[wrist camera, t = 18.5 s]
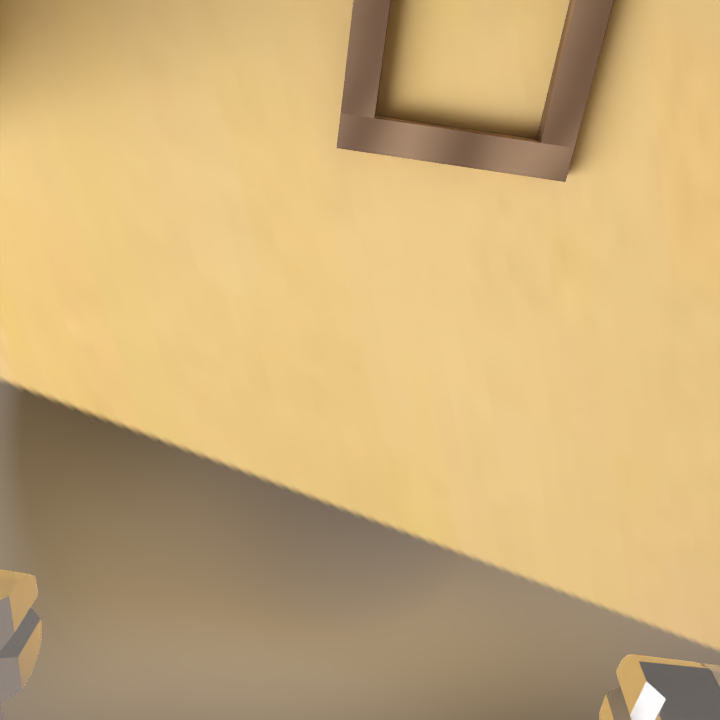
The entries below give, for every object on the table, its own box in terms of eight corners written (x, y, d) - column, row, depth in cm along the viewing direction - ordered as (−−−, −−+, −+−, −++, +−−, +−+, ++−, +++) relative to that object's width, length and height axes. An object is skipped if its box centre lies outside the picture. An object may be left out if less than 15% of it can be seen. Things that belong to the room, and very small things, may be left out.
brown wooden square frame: (338, 144, 42) (336, 148, 41) (370, -127, 36) (368, -133, 35) (560, 177, 42) (565, 181, 41) (629, -87, 36) (638, -92, 35)
